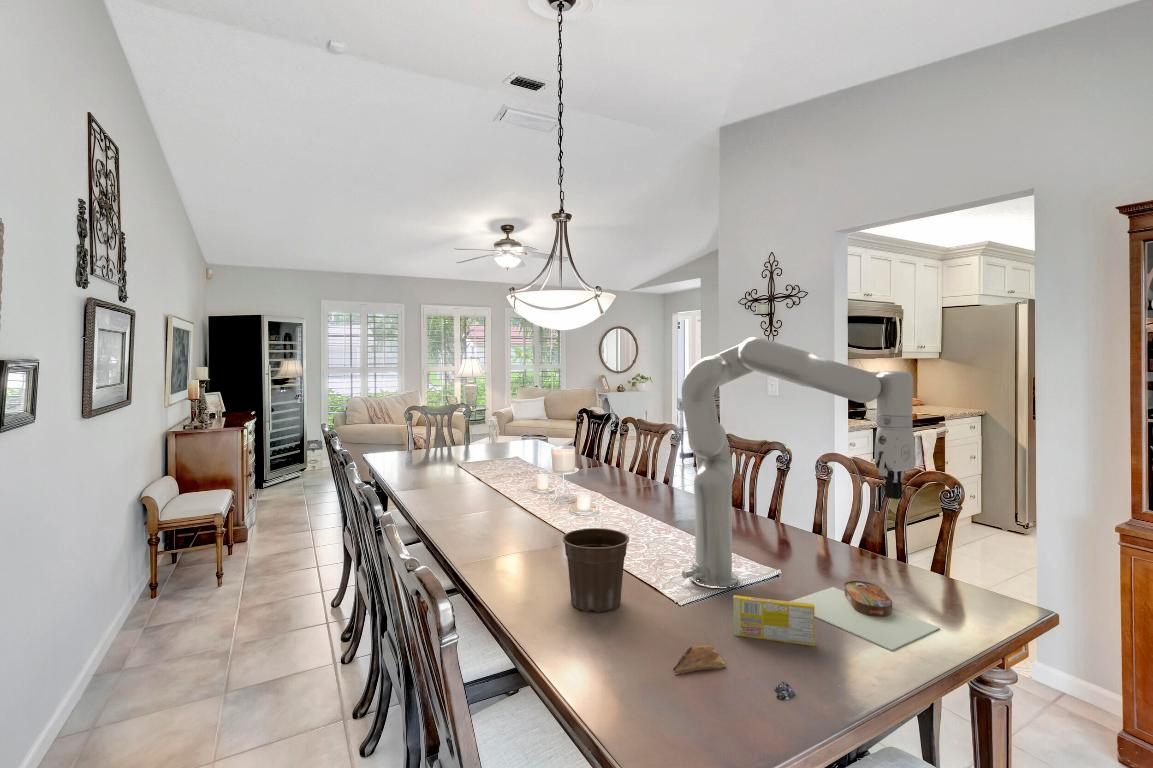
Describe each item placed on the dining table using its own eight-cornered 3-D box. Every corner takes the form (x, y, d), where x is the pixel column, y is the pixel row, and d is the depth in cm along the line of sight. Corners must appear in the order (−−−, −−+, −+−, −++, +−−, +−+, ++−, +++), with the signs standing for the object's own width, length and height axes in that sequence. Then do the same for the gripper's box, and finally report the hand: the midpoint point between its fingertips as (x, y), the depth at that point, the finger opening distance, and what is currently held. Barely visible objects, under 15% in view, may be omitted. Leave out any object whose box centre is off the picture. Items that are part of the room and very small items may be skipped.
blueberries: (760, 704, 98) (760, 694, 98) (762, 676, 105) (762, 667, 105) (802, 713, 95) (802, 702, 95) (801, 683, 103) (801, 674, 103)
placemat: (891, 651, 113) (891, 649, 113) (785, 604, 136) (785, 602, 136) (940, 628, 122) (940, 627, 122) (832, 588, 145) (832, 587, 145)
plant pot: (595, 583, 150) (594, 523, 149) (643, 601, 138) (642, 536, 137) (549, 602, 138) (548, 537, 138) (597, 623, 127) (596, 552, 126)
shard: (672, 677, 106) (672, 668, 106) (658, 656, 113) (658, 647, 113) (726, 671, 108) (726, 661, 108) (709, 650, 115) (709, 642, 115)
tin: (898, 607, 127) (857, 602, 128) (896, 621, 127) (856, 615, 128) (876, 581, 141) (840, 577, 143) (875, 594, 141) (839, 589, 143)
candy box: (814, 642, 117) (814, 603, 117) (815, 647, 115) (815, 607, 115) (733, 631, 123) (733, 593, 122) (733, 635, 121) (733, 597, 120)
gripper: (891, 425, 129) (890, 505, 130) (927, 421, 136) (926, 497, 137) (860, 423, 135) (860, 498, 136) (896, 419, 143) (895, 491, 144)
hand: (893, 497), depth 137 cm, fingers closed
